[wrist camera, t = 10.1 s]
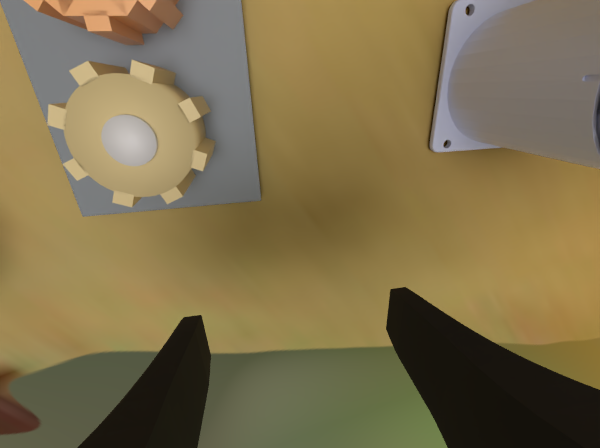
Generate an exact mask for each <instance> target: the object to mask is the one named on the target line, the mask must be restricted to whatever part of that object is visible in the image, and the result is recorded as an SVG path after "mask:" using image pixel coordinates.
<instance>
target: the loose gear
mask: <svg viewBox="0 0 600 448" xmlns="http://www.w3.org/2000/svg"><path fill="white" fill-rule="evenodd" d="M24 1H25V2H26V3H28V4H29V5H30V6H31V7H33V8H34V9H35V10H36V11H38V12H41V13H43V14H46V15H49V16H51V17H54V18H57V19H59V20H62V21H65V22H67V23H70V24H73V25H75V26H78V27H81V28H83V29H86V30H88V31H89V32H92V33H94V34H97V35H100V36H102V37H105V38H108V39H111V40H113V41H116V42H119V43H121V44H124V45H144V41H143V36H142V34H151V33H157V32H158V30H159V29H160V27H161V26H162V25H163V23H165V24H166V25H168V26H169V27H170V28H171V29H174V28H175V26H176V25H177V24H178V22H179V21H180V19H181V18H182V16H183V14H182V13H181V12H180V11H179V10H178V9H177V7H176V6H175V5H176V4H177V2H178V1H179V0H24Z"/></svg>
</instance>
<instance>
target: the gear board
mask: <svg viewBox="0 0 600 448" xmlns="http://www.w3.org/2000/svg"><path fill="white" fill-rule="evenodd" d="M0 2H1V5H2V8H3V10H4V13H5V15H6V18H7V21H8V23H9V26H10V28H11V31H12V34H13V36H14V39H15V42H16V44H17V47H18V49H19V52H20V55H21V57H22V60H23V62H24V65H25V68H26V70H27V73H28V75H29V78H30V81H31V83H32V86H33V88H34V91H35V94H36V96H37V99H38V101H39V104H40V107H41V109H42V112H43V114H44V117H45V120H46V122H47V125H48V127H49V130H50V133H51V135H52V138H53V140H54V143H55V146H56V148H57V151H58V154H59V156H60V159H61V161H62V164H63V167H64V169H65V172H66V174H67V177H68V180H69V182H70V185H71V187H72V190H73V193H74V195H75V198H76V200H77V203H78V206H79V208H80V211H81V213H82V216H83V217H84V216H95V215H106V214H117V213H128V212H139V211H150V210H161V209H172V208H183V207H194V206H205V205H216V204H228V203H239V202H250V201H261V193H260V183H259V174H258V164H257V154H256V144H255V134H254V124H253V114H252V104H251V94H250V84H249V74H248V64H247V54H246V44H245V35H244V25H243V15H242V5H241V0H179V1H178V2H177V4H176V5H175V6H176V7H177V9H178V10H179V11H180V12H181V13H182V14H183V16H182V18H181V19H180V21H179V22H178V24H177V25H176V26H175V28H174V29H171V28H170V27H169V26H168V25H166V24H165V23H163V25H162V26H161V27H160V29H159V30H158V32H157V33H151V34H142V36H143V41H144V45H124V44H121V43H119V42H116V41H113V40H111V39H108V38H105V37H102V36H100V35H97V34H94V33H92V32H89V31H88V30H86V29H83V28H81V27H78V26H75V25H73V24H70V23H67V22H65V21H62V20H59V19H57V18H54V17H51V16H49V15H46V14H43V13H41V12H38V11H36V10H35V9H34V8H33V7H31V6H30V5H29V4H28V3H26V2H25V1H24V0H0Z"/></svg>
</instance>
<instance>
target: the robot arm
mask: <svg viewBox="0 0 600 448" xmlns="http://www.w3.org/2000/svg"><path fill="white" fill-rule="evenodd" d="M467 6H468V7H469V9H470V12H469V15H466V11H465V10H466V7H467ZM446 140H447V145H446V146H445V147H444V146H443V144H444V142H445V141H446ZM503 147H504V148H508V149H513V150H517V151H522V152H526V153H530V154H535V155H539V156H544V157H548V158H553V159H557V160H562V161H566V162H570V163H575V164H579V165H584V166H588V167H593V168H597V169H600V0H457V1H455V2H454V3H453V4H452V5H451V7H450V9H449V13H448V20H447V27H446V34H445V41H444V48H443V55H442V62H441V69H440V75H439V82H438V89H437V96H436V103H435V110H434V117H433V124H432V131H431V138H430V149H431V150H432V151H434V152H450V151H463V150H477V149H490V148H503ZM386 330H387V332H388V335H389V337H390V339H391V342H392V344H393V346H394V349H395V351H396V353H397V355H398V357H399V359H400V360H401V362H402V364H403V366H404V367H405V369H406V371H407V373H408V374H409V376H410V378H411V379H412V381H413V383H414V385H415V386H416V388H417V390H418V391H419V393H420V395H421V397H422V398H423V400H424V402H425V404H426V405H427V407H428V409H429V410H430V412H431V414H432V416H433V418H434V420H435V422H436V423H437V426H438V428H439V430H440V432H441V434H442V436H443V438H444V441H445V442H446V445H447V447H448V448H600V390H598V389H596V388H593V387H591V386H588V385H585V384H583V383H580V382H578V381H575V380H573V379H570V378H568V377H565V376H563V375H561V374H558V373H556V372H554V371H551V370H549V369H547V368H545V367H542V366H540V365H538V364H536V363H533V362H531V361H529V360H527V359H525V358H523V357H521V356H519V355H517V354H515V353H513V352H511V351H509V350H507V349H505V348H503V347H501V346H499V345H497V344H496V343H494V342H492V341H490V340H488V339H487V338H485V337H483V336H481V335H480V334H478V333H476V332H474V331H473V330H471V329H469V328H468V327H466V326H464V325H463V324H461V323H460V322H458V321H456V320H455V319H453V318H452V317H450V316H449V315H447V314H445V313H444V312H442V311H441V310H439V309H438V308H436V307H435V306H433V305H432V304H430V303H429V302H427V301H426V300H424V299H423V298H421V297H420V296H418V295H417V294H415V293H414V292H412V291H411V290H409V289H408V288H406V287H403V288H396V289H391V290H390V299H389V308H388V317H387V326H386ZM210 360H211V354H210V350H209V346H208V341H207V337H206V333H205V329H204V324H203V320H202V316H201V315H198V316H190V317H184V318H183V319H182V320H181V321H180V323H179V324H178V326H177V327H176V329H175V330H174V332H173V333H172V335H171V336H170V338H169V339H168V340H167V342H166V343H165V345H164V346H163V348H162V349H161V350H160V352H159V353H158V354H157V356H156V357H155V359H154V360H153V361H152V363H151V364H150V365H149V367H148V368H147V369H146V371H145V372H144V373H143V374H142V376H141V377H140V378H139V379H138V381H137V382H136V383H135V384H134V386H133V387H132V388H131V390H130V391H129V392H128V393H127V394H126V396H125V397H124V398H123V399H122V400H121V401H120V403H119V404H118V405H117V406H116V407H115V408H114V410H113V411H112V412H111V413H110V414H109V415H108V416H107V417H106V418H105V420H104V421H103V422H102V423H101V424H100V425H99V426H98V427H97V428H96V429H95V430H94V431H93V432H92V433H91V434H90V436H89V437H87V438H86V440H85V441H83V443H82V444H81V445H80V446H79V447H78V448H197V446H198V441H199V435H200V430H201V425H202V419H203V414H204V409H205V403H206V397H207V392H208V386H209V376H210Z"/></svg>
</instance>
